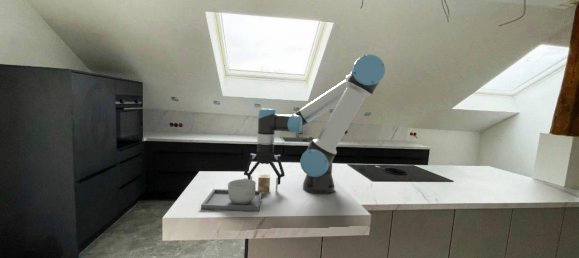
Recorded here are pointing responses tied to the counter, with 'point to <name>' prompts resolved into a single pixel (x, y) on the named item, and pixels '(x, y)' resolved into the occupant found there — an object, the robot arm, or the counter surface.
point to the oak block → (264, 183)
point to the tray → (229, 202)
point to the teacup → (241, 191)
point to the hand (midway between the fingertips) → (263, 190)
